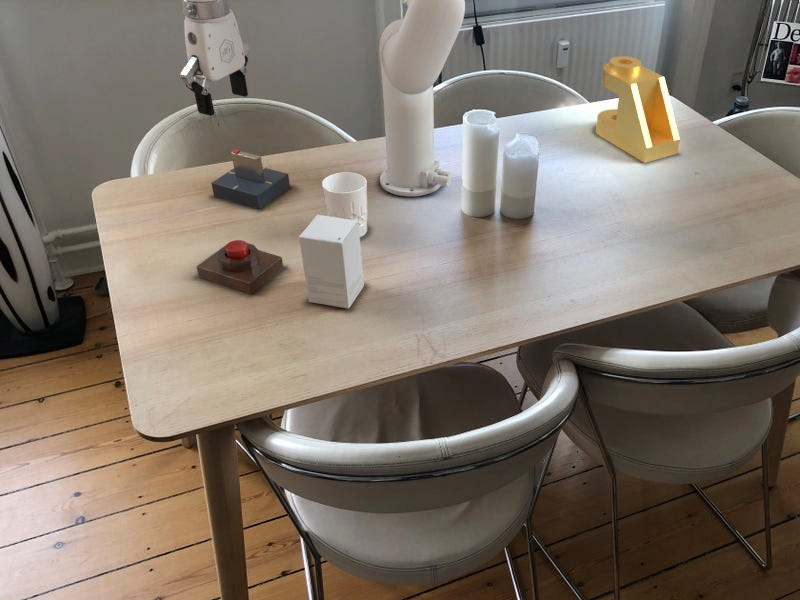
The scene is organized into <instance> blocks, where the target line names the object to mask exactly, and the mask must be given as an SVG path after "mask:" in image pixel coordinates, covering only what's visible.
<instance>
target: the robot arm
mask: <svg viewBox="0 0 800 600" xmlns="http://www.w3.org/2000/svg"><path fill="white" fill-rule="evenodd" d="M181 3H182V10H181V12H182V14H183V16H184V18H185V19H184V20H183V21H184V25H183V26H184V27H183V29H184V41H185V42H184V43H185V49H186V56H187V63H186V65H185V66H184V68H183V70H182V71H181V73H180V78H181V79H182V81H183V83H184V84H185V87H186V88H187V89H188V90H190V91H191V93H194V99H195V104H196V108H197V111H198V113H199V114H202V115H206V116H210V117H212V116H215V108H214V103H213V98H212V94H211V93H210V92H209V89H210V86H211V82H219V81H220V80H222V79H224V78H226V77H228V76H229V82H230V83H229V84H230V89H231V93H232V94H233V95H236V96H239V97H248V96H249V93H248V92H249V91H248V85H247V79H246V74H247V72H248V70H247V64H248V61H249V57H248V55H249V50H250V49H249V48H250V45H249V44H248V43H245V42H242V36H241V33H240V27H239V25H238V22H237V19H236V17H235V14H234V12H233V10H231V9H230V3H229V0H181ZM405 3H406V6H407V10H406V12H405V15H404V17H403V18H399V19H396V20H394V21H392V22H390V23H389V24H388V25H387V26H386V27H385V29H384V30H383V31H382V34H381V37H380V40H379V47H378V48H379V49H378V51H379V63H380V64H379V65H380V72H381V84H382V97H383V99H382V101H383V114H384V115H383V118H384V129H385V130H384V133H385V134H384V135H385V150H386V152H385V153H386V169H385V170H384V171H382V173H381V174H380V177H379V183H380V186H381V188H382V189H384V190H385V191H386V192H387V193H390V194H393V195H396V196H401V197H420V196H421V197H422V196H425V195H429V194H431V193H434V192H435V191H437V190H439V189H440V187H447V188H449V187H450V186H451V183H452V177H451V176H452V172H451V171H446V170H442V169H441V168H440V161H439V160H435V115H434V113H435V111H434V110H435V106H434V105H435V103H434V102H435V101H434V99H435V97H434V85H435V83H436V81H437V80H438V79H439V76H440V75H441V72H442V71H443V68H444V66H445V64H446V61H447V59H448V57H449V55H450V53H451V51H452V49H453V46H454V44H455V42H456V41H457V40H456V39H457V37H458V35H459V33H460V31H461V28H462V25H463V21H464V18H465V13H466V1H465V0H405ZM201 80H202V81H203V82H202V84H201V83H200V82H201Z"/></svg>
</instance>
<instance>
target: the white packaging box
mask: <svg viewBox="0 0 800 600" xmlns="http://www.w3.org/2000/svg"><path fill="white" fill-rule="evenodd" d="M298 240H299V247H300V253H301V260H302V265H303V272H304V278H305V287H306V291H307V297H308V302H309V303H313V304H319V305H326V306H331V307H336V308H342V309H347V310H348V309H350V307H351V306H352V305H353V303H354V302H355V301H356V299H357V297H358V296H359V294H360V293H361V291H362V290H363V288H364V286H365V278H364V268H363V258H362V257H363V256H362V248H361V237H360V236H359V227H358V221H356V220H349V219H343V218H336V217H329V216H327V215H322V214H317V215H316V216H315V217H314V218H313V219H312V220H311V222H310V223H309V224H308V226H306V228H305V229H304V230H303V231H302V232H301V233H300V234H299V236H298Z"/></svg>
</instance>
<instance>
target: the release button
mask: <svg viewBox="0 0 800 600" xmlns="http://www.w3.org/2000/svg"><path fill="white" fill-rule="evenodd" d="M247 243H248V242H246V241H245V240H242V239H235V240H231V241H229V242H227V243H226V244H225V245H226V246H225V245H224V246H225V248H226V253H227V257H228V258H230V259H242V258H245V257H247V256H248V255H249V250H248V245H247Z"/></svg>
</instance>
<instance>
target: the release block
mask: <svg viewBox="0 0 800 600" xmlns="http://www.w3.org/2000/svg"><path fill="white" fill-rule="evenodd" d="M246 243H247V245H248V250H249V255H248V256H247V257H245V258H242V259H230V258H228V257H227V253H226V248H225V246H226V244H225V245H224V246H222V247H221V248H219V249H218V250H217V251H215V252H213V254H212V255H210V256H209V257H207V258H206V259H205V260H203V261H201V262H200V263H199V264H198V265H196V270H197V275H198V278H201V279H204V280H207V281H210V282H213V283H215V284H219V285H222V286H225V287H228V288H231V289H235V290H237V291H241V292H244V293H247V294H250V295H252V294H253V293H255V292H256V291H257V290H258V289H259V288H260V287H262V286H263V285H264V284H265V283H267V282H268V281H269V280H271V278H273V277H274V276H275V275H276V274H278V273H279V272H280V271H281V270H282V269H283V268H284V263H283V257H282V256H280V255H276V254H273V253H269V252H267V251H263V250H260V249H258V248H257V247H256V245H254V244H252V243H248V242H246Z"/></svg>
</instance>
